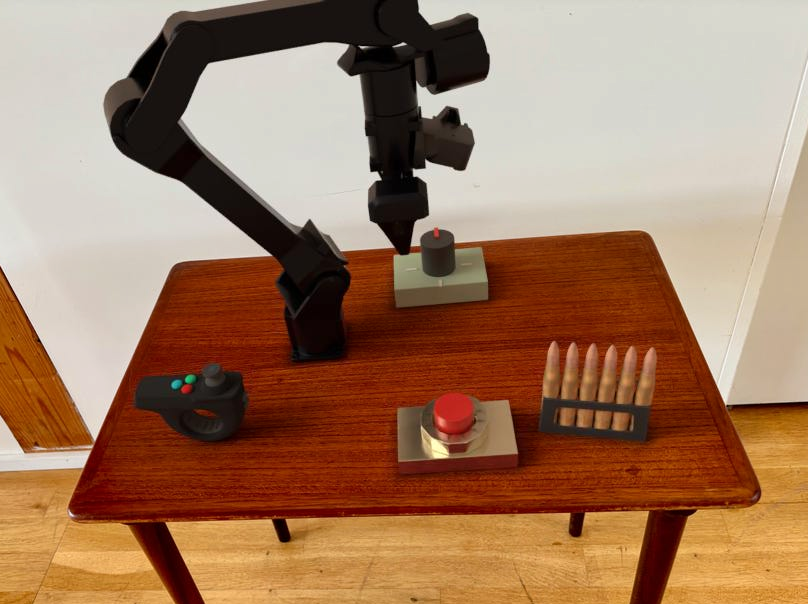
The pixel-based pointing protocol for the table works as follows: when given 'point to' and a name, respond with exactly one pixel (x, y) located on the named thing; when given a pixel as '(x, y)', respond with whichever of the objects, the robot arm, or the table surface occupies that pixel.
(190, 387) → the controller
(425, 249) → the dial
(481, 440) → the button housing
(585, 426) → the ammunition clip
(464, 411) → the press knob
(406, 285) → the dial panel
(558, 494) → the table surface
